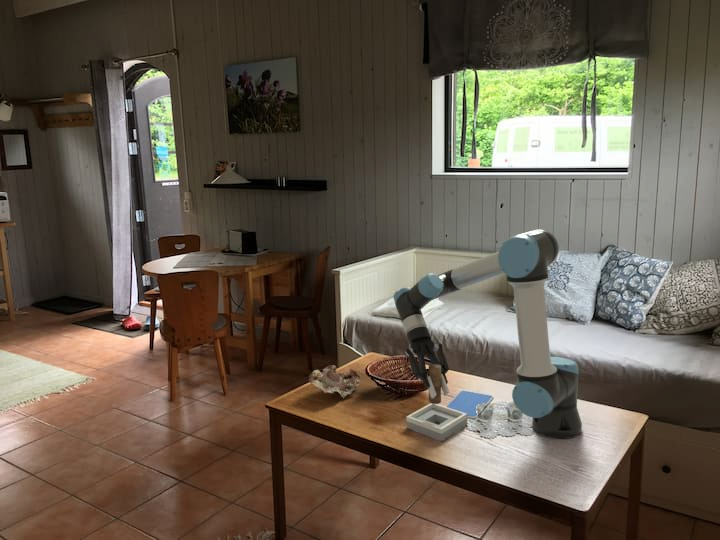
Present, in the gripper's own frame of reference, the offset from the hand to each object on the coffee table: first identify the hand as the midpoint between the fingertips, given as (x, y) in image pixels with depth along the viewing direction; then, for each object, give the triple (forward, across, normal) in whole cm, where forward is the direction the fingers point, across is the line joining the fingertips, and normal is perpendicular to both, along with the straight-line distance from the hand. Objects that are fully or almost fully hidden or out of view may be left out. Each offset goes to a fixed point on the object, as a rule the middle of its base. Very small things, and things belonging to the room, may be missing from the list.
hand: (440, 395), depth 193 cm
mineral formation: (-21, +20, -40) cm, 49 cm away
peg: (0, 0, -5) cm, 5 cm away
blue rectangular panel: (0, -18, -18) cm, 26 cm away
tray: (+7, 0, -11) cm, 13 cm away
